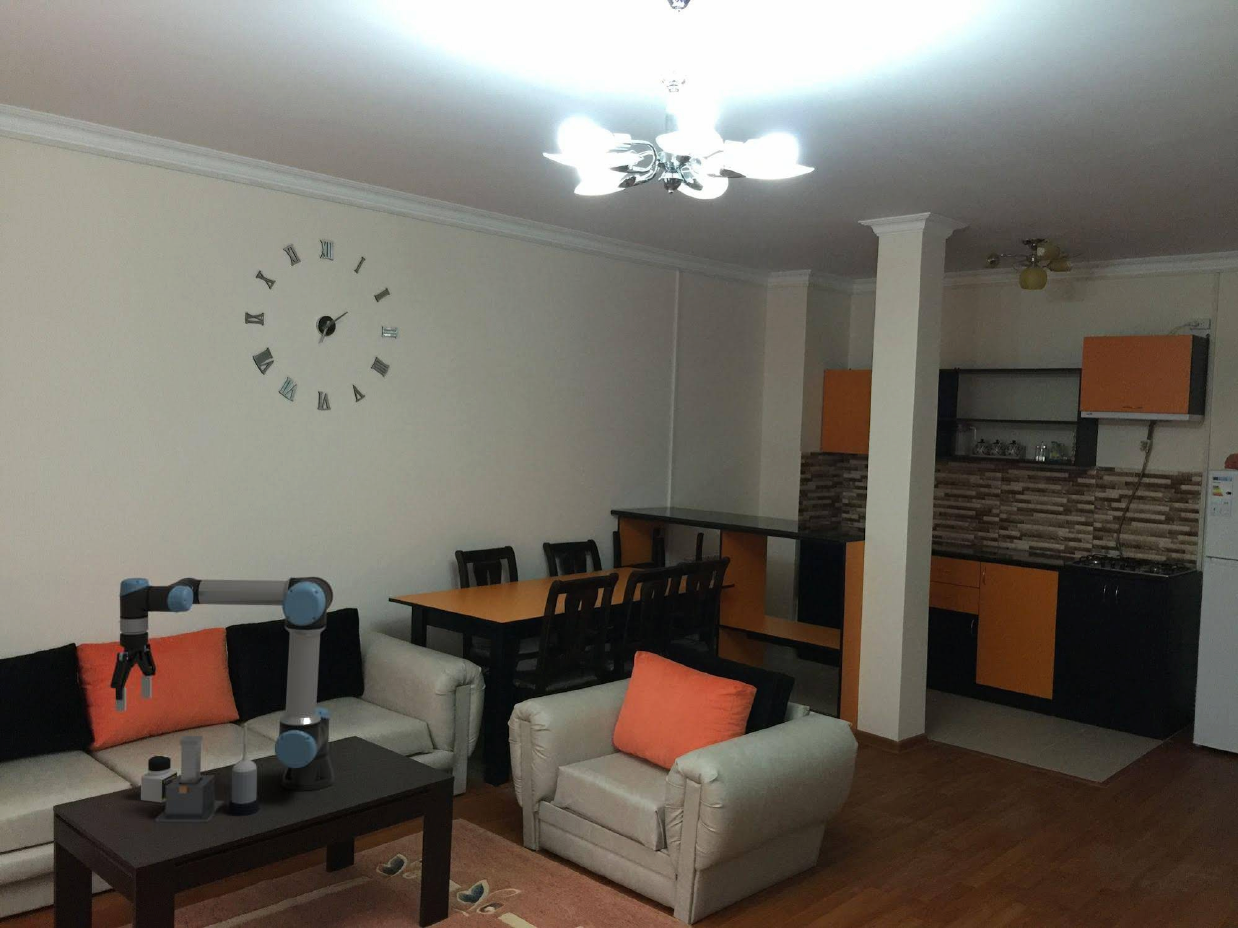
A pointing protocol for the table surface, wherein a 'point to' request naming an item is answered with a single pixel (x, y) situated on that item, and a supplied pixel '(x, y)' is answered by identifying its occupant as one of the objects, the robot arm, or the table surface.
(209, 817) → the stand housing
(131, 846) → the table surface
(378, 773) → the table surface
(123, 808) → the table surface
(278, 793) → the table surface
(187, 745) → the column
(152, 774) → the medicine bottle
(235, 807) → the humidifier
